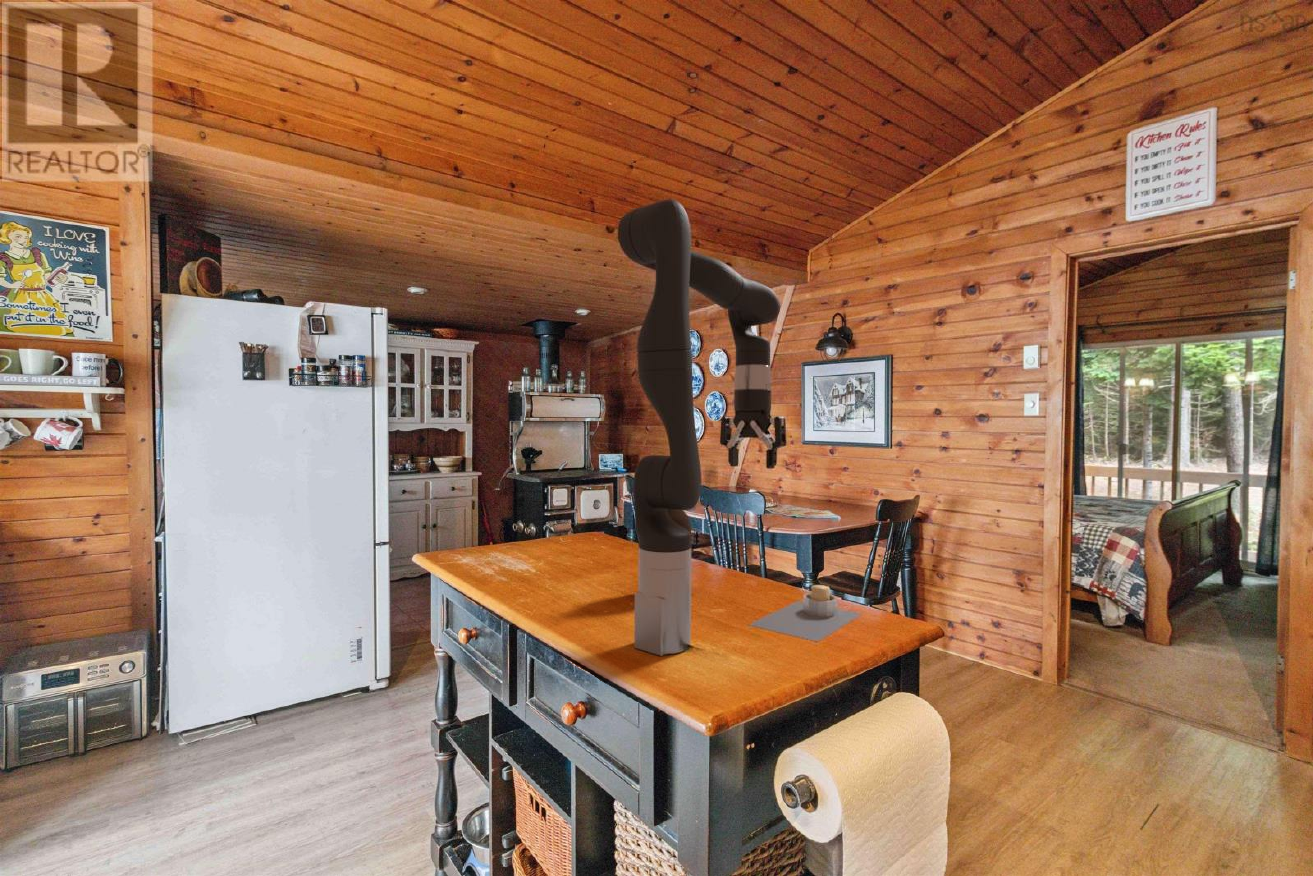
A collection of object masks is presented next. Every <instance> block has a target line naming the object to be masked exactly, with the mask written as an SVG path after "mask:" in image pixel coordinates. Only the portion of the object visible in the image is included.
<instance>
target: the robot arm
mask: <svg viewBox="0 0 1313 876" xmlns="http://www.w3.org/2000/svg"><path fill="white" fill-rule="evenodd" d="M617 240H618V243H619V247H620V248H621V250H622V252H623V254H625V256H626V257H627V258H628V259H629V260H631V261H632V262H635V264H638V265H640V266H643V267H645V268H647V269H650V270H653V271H655V284H654V293H653V296H652V300H651V303H650V304H649V306H648V307H649V308H648V310H647V313H646V314H645V317H644V320H643V322H642V323H641V327H640V330H639V333H638V337H637V342H636V352H637V354H636V357H637V373H638V374H637V375H638V380H639V381H638V382H639V385H640V386H641V388H642V390H643V393H644V395H645V396H646V398H647V400H648V401H649V403H650V404H651V406H652V407H653V409H654V411H655V412H656V414H657V415H658V418H659V419H660V420H661V423H662V424H663V426H664V429H665V432H666V435H667V443H668V447H669V448H668V449H669V455H660V454H659V455H656V454H654V455H646V456H643V457H642V458H641V459H640V460H639V461H638V463H637V465H636V468H635V471H634V476H633V502H634V503H633V504H634V525H635V526H634V528H635V532H636V535H637V540H638V586H637V587H638V592H635V593H634V633H633V634H634V642H633V643H634V648H635V649H638V650H641V651H644V652H648V653H650V654H654V655H658V656H661V657H662V656H665V655H669V654H679V653H682V652H684V651H687V650H688V649H690V647H691V635H692V634H691V630H692V628H691V627H692V623H691V622H692V621H691V619H692V618H691V617H692V612H691V611H692V533H691V534H690V532H689V531H688V530H687V529H685V528H684V527H682V526H680V525H678V524H677V523H676V522H674V521H673V520H672V519H671V518H670V516H669V515H668V513H667V509H676V510H683V511H689V510H692V509H694V508H695V507H696V505H697V504H698V503H699V499H700V497H701V491H702V471H701V468H702V467H701V461H700V452H699V446H698V445H699V444H698V439H697V430H696V423H695V421H696V420H695V410H694V389H693V357H692V356H693V353H692V340H691V324H690V323H691V322H690V321H691V319H690V288H691V289H693V290H695V291H696V292H699V294H701V295H703V296H704V297H706V298H707V299H709V300H710V301H711V302H713V303H715V304H716V305H717V306H719V307H720V308H722V309H725V310H727V319H728V321H729V325H730V328H731V333H732V337H733V342H734V346H735V371H734V378H733V379H734V380H733V381H734V382H733V384H734V385H733V386H734V387H733V388H734V389H733V392H734V393H733V411H734V416H733V417H732V416H722V417H721V419H720V436H719V437H720V438H719V444H720V445H721V446H723V447H726V448H727V450H728V455H727V460H728V464H729V466H730V467H738V466H739V448H738V447H739V445H741V442H743V441H744V440H745V439H746V438H747V439H748V438H749V439H751V438H753V439H760V440H761V441H762V442H763V444H764V445H765V446H766V448H767V449H766V450H765V452H766V454H765V455H766V456H765V457H766V458H765V466H766V469H769V470H770V469H774V468H775V466H777V462H778V461H777V460H778V450H779V449H780V448H783V447H787V426H786V425H787V424H786V417H784V416H775V417H772V416H771V411H772V386H773V385H772V384H773V383H772V371H771V342H770V339H768V338H767V337H764V336H758V335H755V334H754V332H753V330H752V327H754V326H759V325H760V326H761V325H767V324H769V323H770V324H772V323H773V322H774V321H775V320H776V319H777V318H778V316H779V314H780V312H781V304H780V300H779V297H778V296H777V294H776V293H775V292H774V290H773V289H771V288H770V287H768V286H767V285H765V284H762V283H760V282H757V281H755V280H752V279H750V278H746V277H743V276H742V275H741V274H740V273H738V272H737V271H736V270H735V269H733V268H732V267H731V266H729V265H728V264H726V263H725V262H723V261H721V260H719V259H718V258H717V259H716V258H714V257H711V256H708V255H706V254H702V253H699V252H695V251H693V250H692V231H691V223H690V218H689V216H688V214H687V212H686V209H685V208H684V205H682V204H681V203H680V202H679V201H677V200H675V199H672V198H671V199H664V200H660V201H656V202H654V203H650V204H647V205H643V206H640V207H636V208H634V209H632V210H630V211H628V212H627V213H624V215H623V216H622V217H621V218H620V220H619V222H618V227H617ZM771 425H772V427H773V428H774V435H773V433H772V432H771V430H770V427H771ZM733 427H735V430H734V431H732V429H733ZM732 432H733V433H732Z"/></svg>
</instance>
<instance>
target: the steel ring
mask: <svg viewBox="0 0 1313 876" xmlns="http://www.w3.org/2000/svg"><path fill="white" fill-rule="evenodd" d="M802 596H803V597H802V601H803V611H804V613H806V614H808V615H812V616H817V617H831V616H835V615H837V614H838V609H839V608H838V607H839V605H838V601H839V600H838V596H837V595H834V594H830V601H817V600H812V599H811V592H807V593H805V594H802Z"/></svg>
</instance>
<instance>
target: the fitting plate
mask: <svg viewBox="0 0 1313 876" xmlns="http://www.w3.org/2000/svg"><path fill="white" fill-rule="evenodd" d="M830 591H831V590H830V587H829V586H826V585H822V584H813V585H811V587H810V593H811V599H812V600H817V601H830ZM862 615H863V613H861V612H855V611H851V610H846V609H842V608H838V614H837V615H835V616H831V617H817V616H812V615H808V614H806V613H804V611H803V600H802V601H801V600H797V601H794V602H793V603H791V604H788V605H786V606H784V607H782V608H780V609H778V610H776V611H774V612H771V613H770V614H768V615H765V616H763V617H761V618H759V619H757V620H754V621H753V622H751V623H748V624H747V625H748V626H751V627H755V628H759V629H761V630H762V629H763V630H767V631H771V632H775V633H778V634H783V635H787V636H792V637H796V638H800V639H804V640H807V641H811V642H816V643H818V642H820V641H822V640H823V639H824V638H826V637H829V636H830V635H832V634H833V633H834V632H836V631H838V630H839V629H841V628H843V627H844V626H846V625H847V624H849V623H850V622H852V621H854V620H855V619H857V618H858V617H860V616H862Z"/></svg>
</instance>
